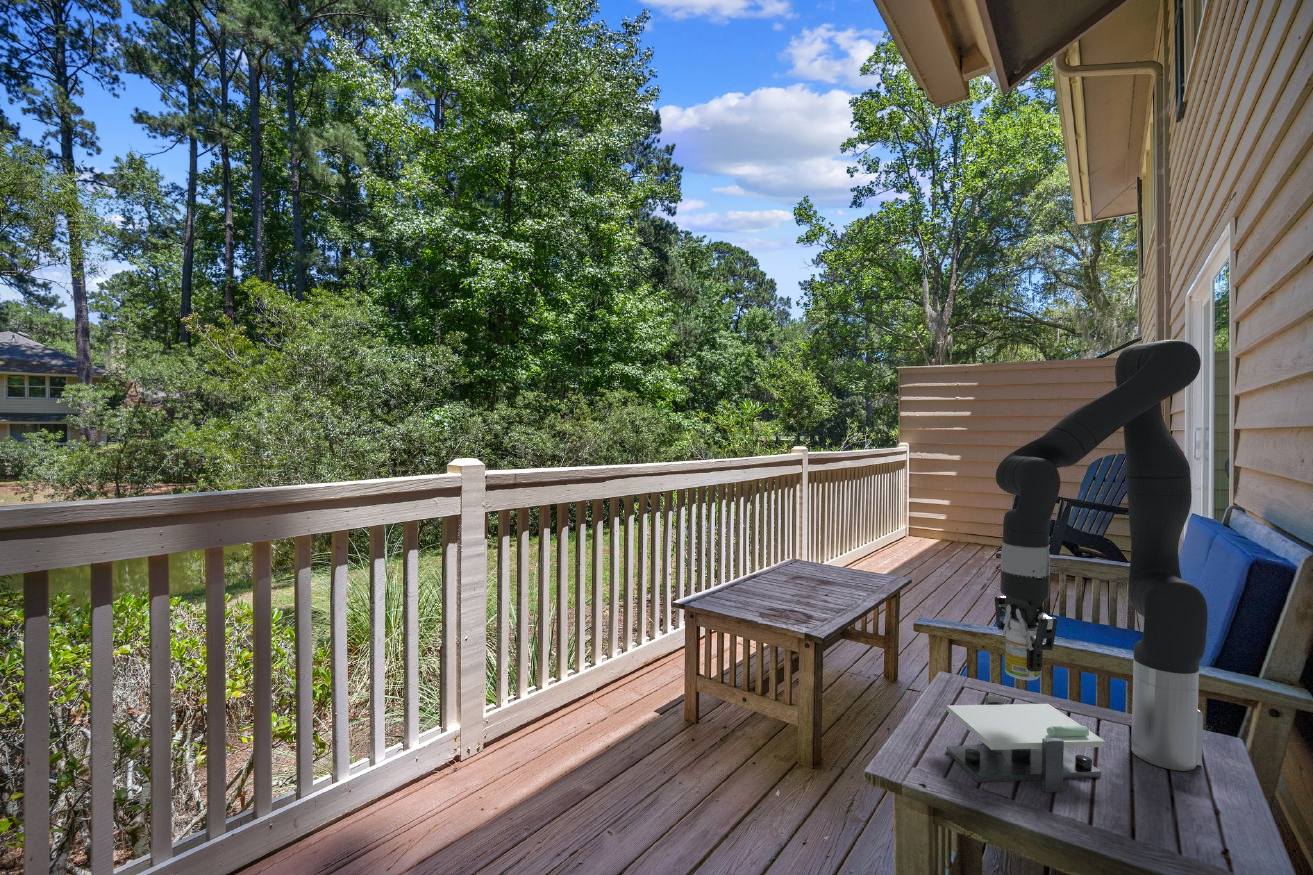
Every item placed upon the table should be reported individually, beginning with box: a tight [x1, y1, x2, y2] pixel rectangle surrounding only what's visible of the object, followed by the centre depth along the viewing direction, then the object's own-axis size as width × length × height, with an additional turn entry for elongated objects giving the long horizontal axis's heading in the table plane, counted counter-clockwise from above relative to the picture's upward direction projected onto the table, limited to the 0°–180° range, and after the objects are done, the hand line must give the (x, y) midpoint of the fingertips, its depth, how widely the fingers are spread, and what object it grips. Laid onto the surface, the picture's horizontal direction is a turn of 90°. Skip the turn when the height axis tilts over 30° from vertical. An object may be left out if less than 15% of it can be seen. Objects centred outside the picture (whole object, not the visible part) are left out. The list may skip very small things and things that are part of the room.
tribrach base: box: [946, 695, 1102, 793], centre depth 113 cm, size 22×17×8 cm
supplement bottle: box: [1004, 618, 1041, 681], centre depth 113 cm, size 5×5×10 cm
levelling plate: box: [946, 703, 1106, 750], centre depth 113 cm, size 20×14×3 cm
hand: (1022, 663), depth 113 cm, fingers closed on supplement bottle, 5 cm apart
